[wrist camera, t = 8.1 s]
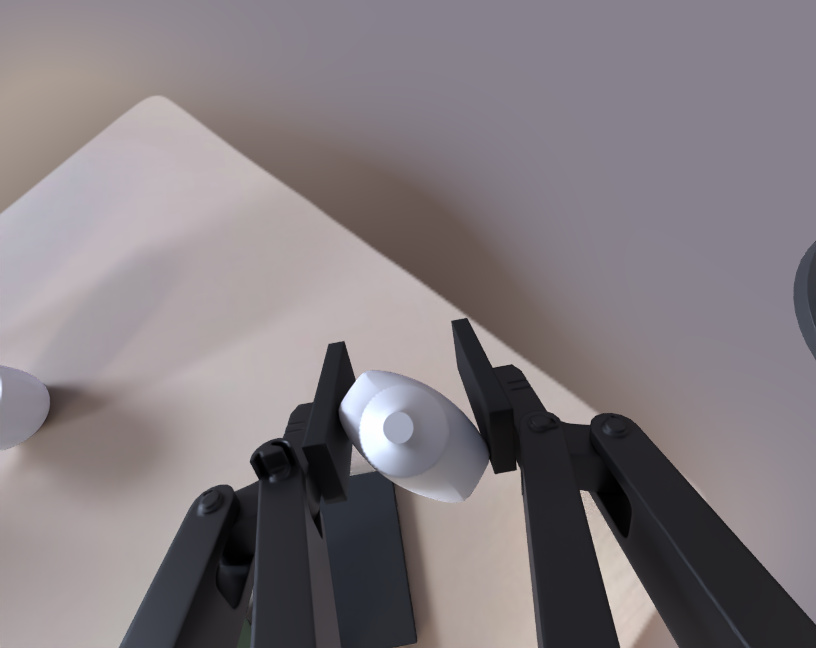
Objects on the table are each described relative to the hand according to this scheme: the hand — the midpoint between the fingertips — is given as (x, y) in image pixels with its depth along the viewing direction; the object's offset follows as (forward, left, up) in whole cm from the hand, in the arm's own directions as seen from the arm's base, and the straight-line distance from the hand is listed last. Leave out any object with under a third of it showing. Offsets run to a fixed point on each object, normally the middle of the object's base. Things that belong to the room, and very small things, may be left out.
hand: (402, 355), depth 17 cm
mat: (+7, +13, -16) cm, 22 cm away
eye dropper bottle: (-1, +4, -4) cm, 5 cm away
